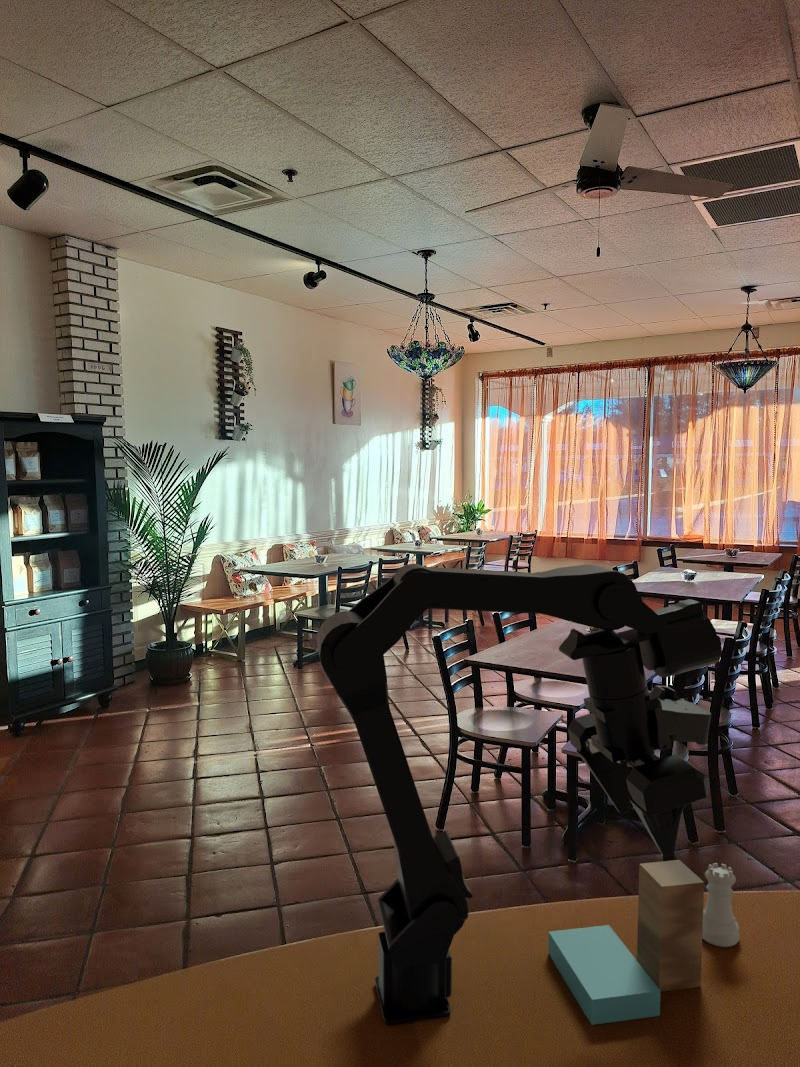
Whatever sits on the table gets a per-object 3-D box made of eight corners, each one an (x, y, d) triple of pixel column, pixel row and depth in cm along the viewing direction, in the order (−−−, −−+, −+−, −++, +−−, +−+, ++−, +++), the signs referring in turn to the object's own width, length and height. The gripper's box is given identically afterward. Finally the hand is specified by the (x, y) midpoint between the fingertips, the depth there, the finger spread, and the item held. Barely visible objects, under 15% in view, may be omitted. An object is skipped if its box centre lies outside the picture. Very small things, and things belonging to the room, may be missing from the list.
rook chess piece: (732, 926, 88) (734, 859, 88) (745, 950, 84) (748, 880, 83) (692, 924, 89) (694, 857, 88) (703, 947, 84) (705, 877, 84)
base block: (591, 1025, 72) (592, 999, 72) (548, 953, 83) (548, 931, 83) (659, 1015, 74) (660, 990, 73) (608, 946, 84) (608, 924, 84)
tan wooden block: (659, 991, 77) (662, 886, 76) (636, 963, 82) (639, 863, 81) (700, 986, 78) (704, 882, 77) (676, 958, 82) (679, 859, 82)
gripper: (746, 694, 69) (774, 854, 71) (646, 647, 87) (669, 774, 89) (633, 728, 67) (664, 890, 69) (554, 672, 86) (580, 802, 87)
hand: (645, 832), depth 79 cm, fingers open, 9 cm apart
